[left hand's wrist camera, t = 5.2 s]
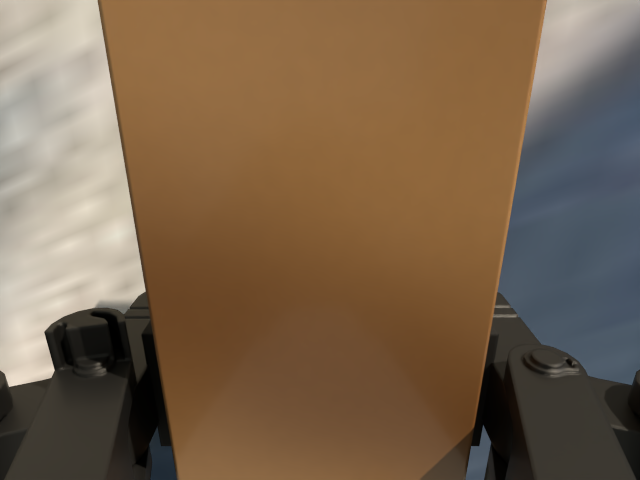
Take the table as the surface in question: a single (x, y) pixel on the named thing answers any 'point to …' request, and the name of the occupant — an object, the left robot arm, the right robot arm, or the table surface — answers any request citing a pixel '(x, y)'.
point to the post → (321, 222)
